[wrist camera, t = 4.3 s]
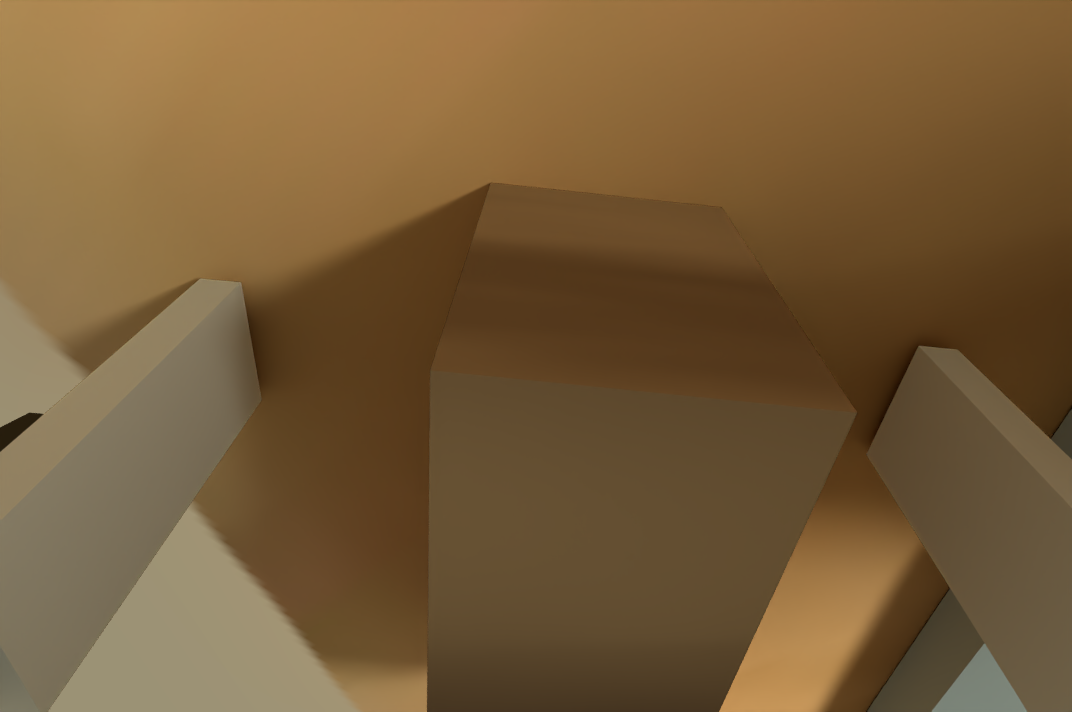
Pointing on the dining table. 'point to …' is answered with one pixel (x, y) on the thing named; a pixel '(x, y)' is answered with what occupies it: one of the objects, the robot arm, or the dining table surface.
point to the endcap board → (954, 658)
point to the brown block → (614, 457)
